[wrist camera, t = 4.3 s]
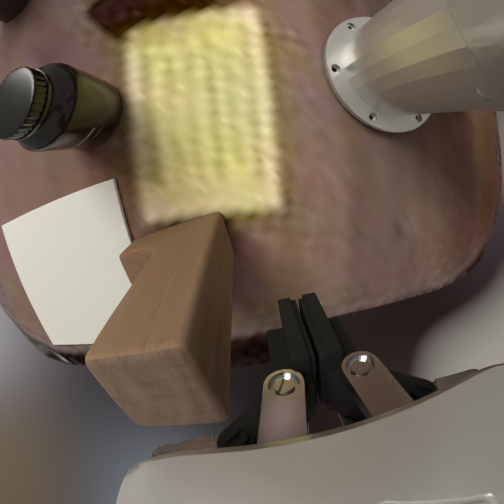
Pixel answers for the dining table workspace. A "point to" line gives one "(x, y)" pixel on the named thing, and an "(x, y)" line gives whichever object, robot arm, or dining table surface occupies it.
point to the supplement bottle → (57, 108)
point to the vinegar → (10, 8)
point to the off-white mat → (73, 261)
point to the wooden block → (171, 327)
